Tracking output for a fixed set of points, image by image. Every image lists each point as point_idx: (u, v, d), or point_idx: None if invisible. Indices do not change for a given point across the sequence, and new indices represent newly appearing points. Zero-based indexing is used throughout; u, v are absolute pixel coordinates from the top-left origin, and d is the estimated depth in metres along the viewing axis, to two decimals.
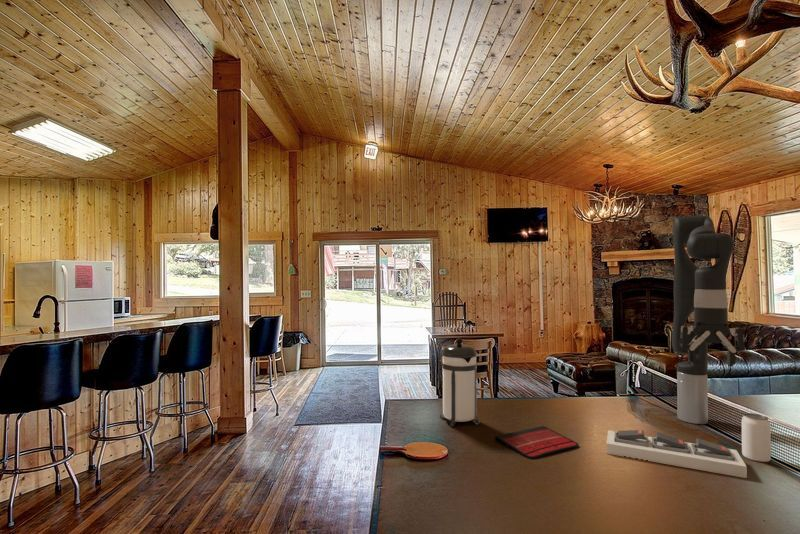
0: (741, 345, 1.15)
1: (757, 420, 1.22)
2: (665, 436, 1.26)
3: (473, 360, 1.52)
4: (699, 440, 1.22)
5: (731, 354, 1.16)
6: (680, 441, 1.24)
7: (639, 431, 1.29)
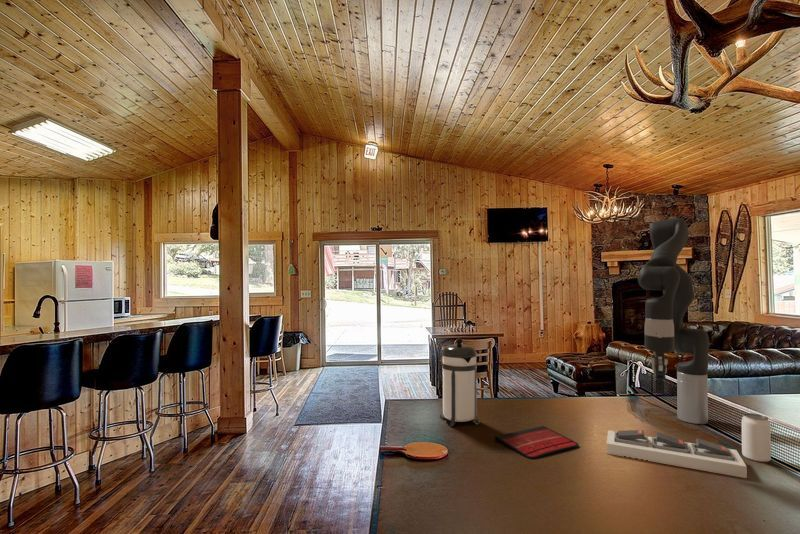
0: None
1: (757, 420, 1.22)
2: (665, 436, 1.26)
3: (473, 360, 1.52)
4: (699, 440, 1.22)
5: None
6: (680, 441, 1.24)
7: (639, 431, 1.29)
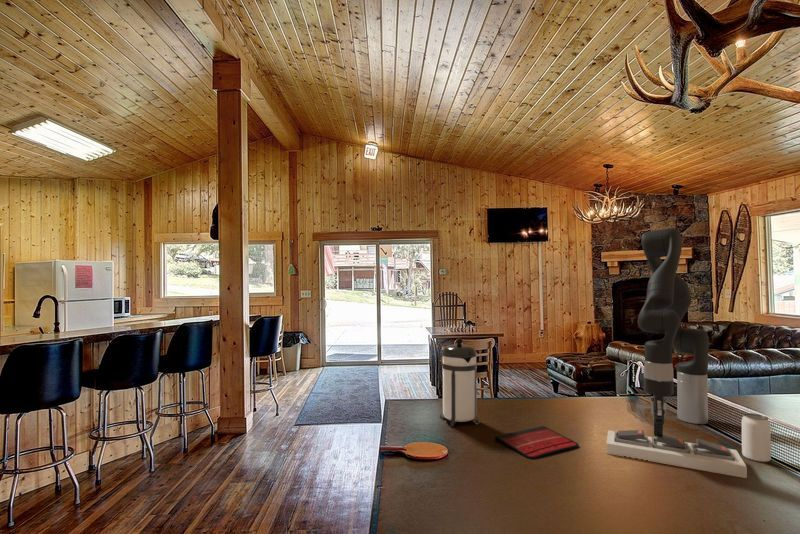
0: None
1: (757, 420, 1.22)
2: (665, 436, 1.26)
3: (473, 360, 1.52)
4: (699, 440, 1.22)
5: None
6: (680, 441, 1.24)
7: (639, 431, 1.29)
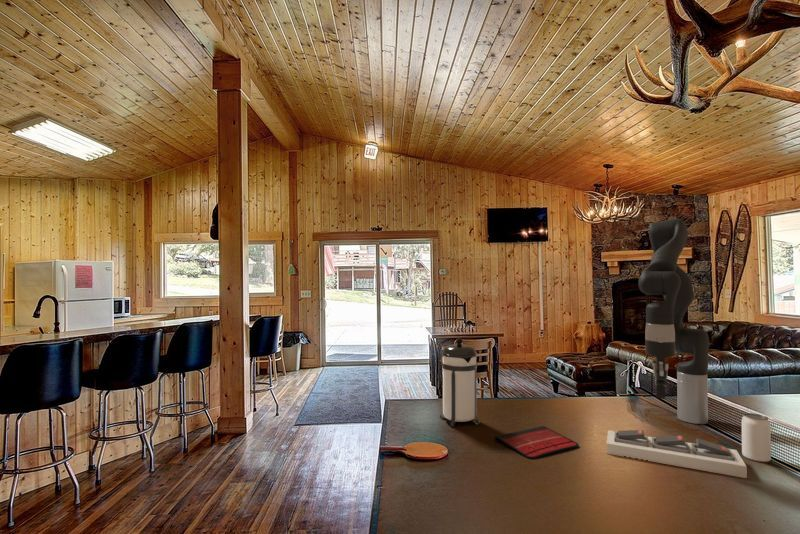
0: None
1: (757, 420, 1.22)
2: (664, 438, 1.26)
3: (473, 360, 1.52)
4: (699, 440, 1.22)
5: None
6: (679, 437, 1.24)
7: (639, 431, 1.29)
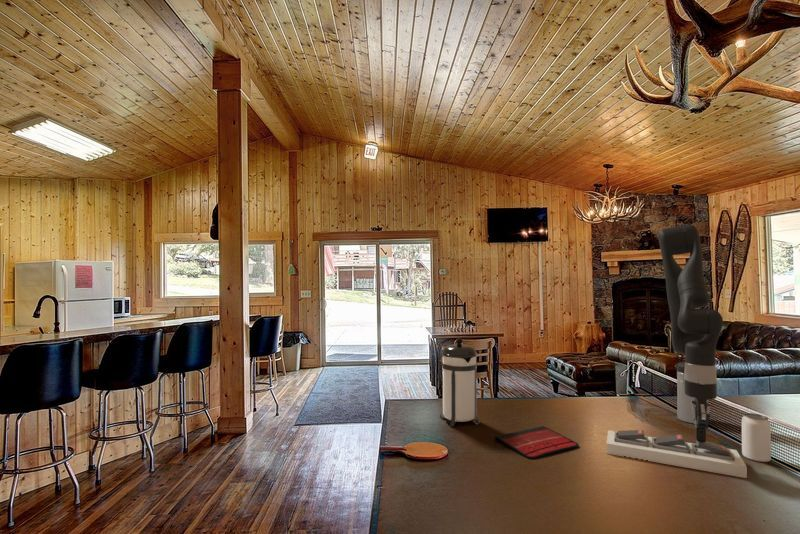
0: None
1: (757, 420, 1.22)
2: (664, 438, 1.26)
3: (473, 360, 1.52)
4: None
5: None
6: (678, 436, 1.24)
7: (639, 431, 1.29)
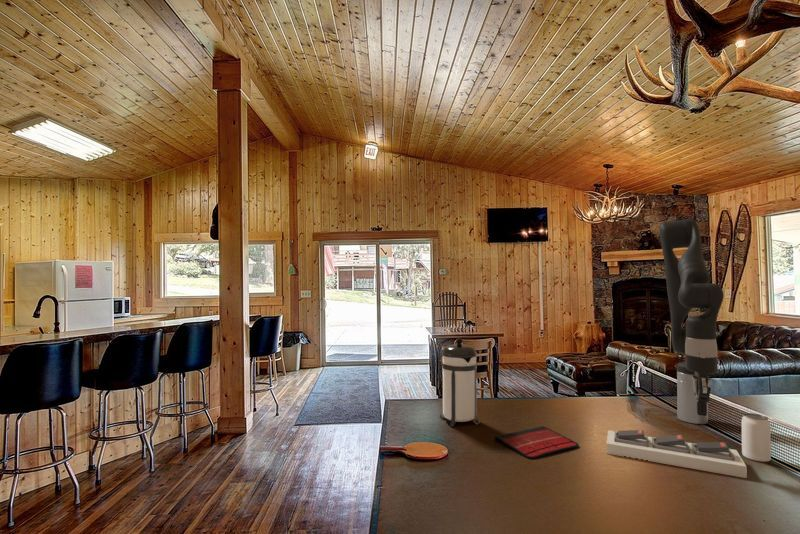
0: None
1: (757, 420, 1.22)
2: (664, 438, 1.26)
3: (473, 360, 1.52)
4: (698, 444, 1.22)
5: None
6: (678, 437, 1.24)
7: (639, 431, 1.29)
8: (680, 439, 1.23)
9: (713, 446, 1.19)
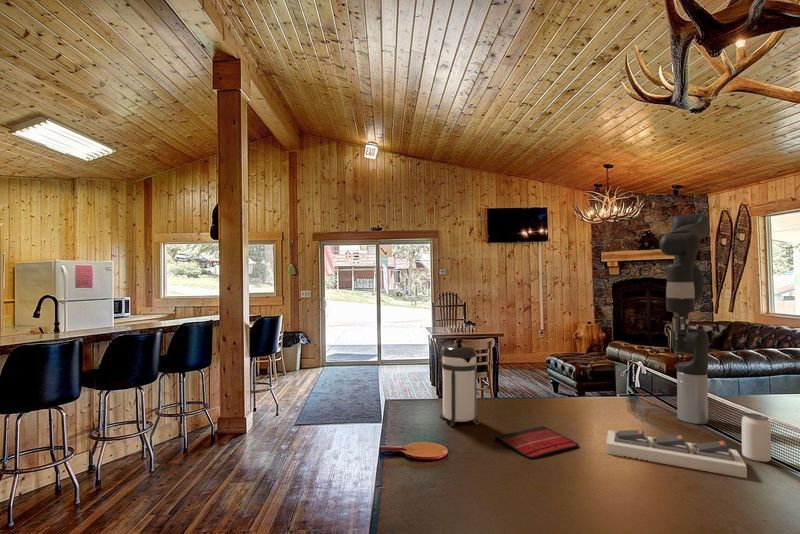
0: None
1: (757, 420, 1.22)
2: (664, 438, 1.26)
3: (473, 360, 1.52)
4: (698, 446, 1.22)
5: None
6: (678, 437, 1.24)
7: (639, 431, 1.29)
8: (680, 439, 1.23)
9: (713, 446, 1.20)
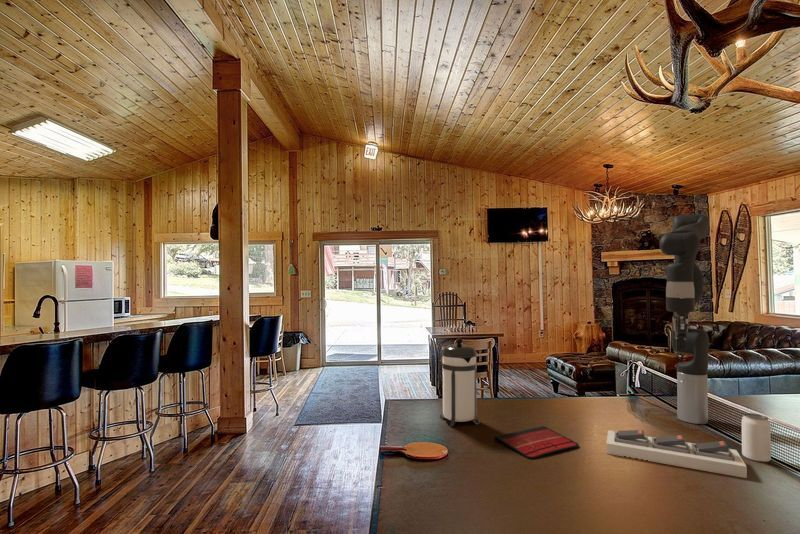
0: None
1: (757, 420, 1.22)
2: (664, 438, 1.26)
3: (473, 360, 1.52)
4: (698, 445, 1.22)
5: None
6: (678, 437, 1.24)
7: (639, 431, 1.29)
8: (680, 439, 1.23)
9: (713, 446, 1.20)
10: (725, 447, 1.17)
